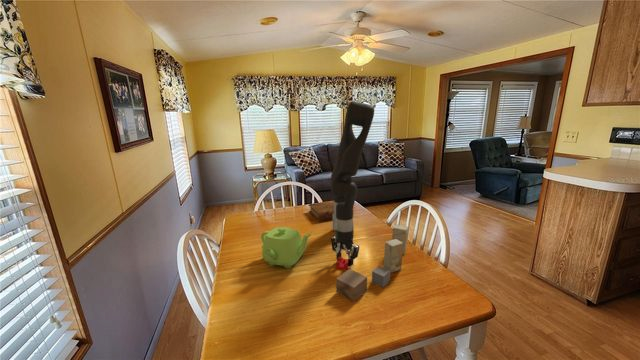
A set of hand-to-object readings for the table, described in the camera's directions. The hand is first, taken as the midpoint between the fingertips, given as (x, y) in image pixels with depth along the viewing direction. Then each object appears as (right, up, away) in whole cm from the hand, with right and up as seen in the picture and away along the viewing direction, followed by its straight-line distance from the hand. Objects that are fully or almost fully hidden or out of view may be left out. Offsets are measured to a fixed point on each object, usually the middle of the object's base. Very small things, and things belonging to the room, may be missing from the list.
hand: (344, 263), depth 116 cm
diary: (-4, +14, +57) cm, 59 cm away
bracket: (0, -1, 0) cm, 1 cm away
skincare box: (+20, -1, -3) cm, 20 cm away
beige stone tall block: (+26, +2, +10) cm, 29 cm away
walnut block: (+1, -5, -17) cm, 18 cm away
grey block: (+13, -4, -12) cm, 18 cm away
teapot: (-26, -1, +2) cm, 26 cm away
